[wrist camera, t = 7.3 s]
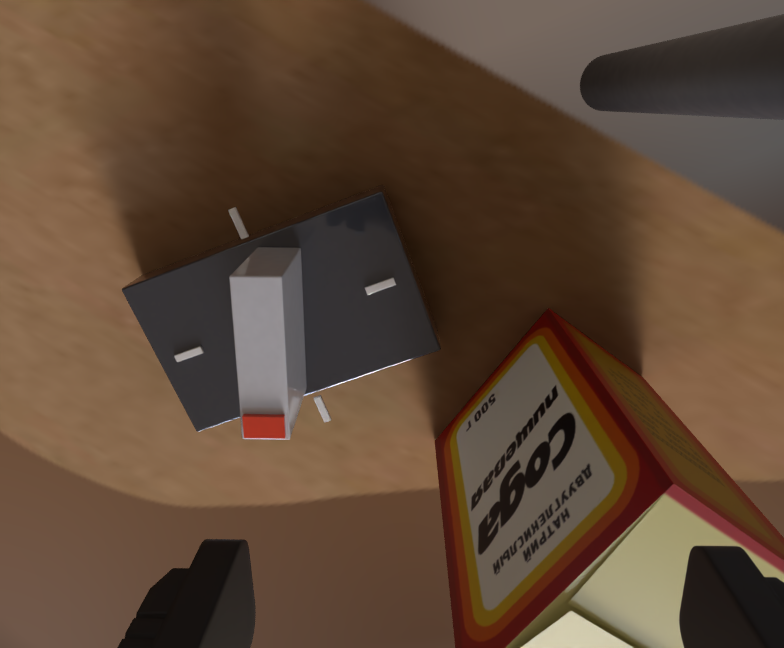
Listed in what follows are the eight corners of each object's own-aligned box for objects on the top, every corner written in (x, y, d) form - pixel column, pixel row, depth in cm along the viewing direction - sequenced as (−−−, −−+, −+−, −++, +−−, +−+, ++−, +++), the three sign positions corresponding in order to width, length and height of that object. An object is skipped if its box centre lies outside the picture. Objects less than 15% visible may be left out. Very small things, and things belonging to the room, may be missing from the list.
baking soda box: (548, 307, 32) (679, 491, 17) (643, 377, 33) (844, 607, 18) (434, 441, 35) (460, 702, 20) (526, 501, 36) (618, 791, 21)
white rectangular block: (256, 246, 29) (226, 277, 24) (301, 247, 29) (280, 278, 24) (266, 388, 31) (240, 442, 26) (306, 388, 31) (289, 443, 26)
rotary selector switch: (371, 151, 30) (368, 155, 27) (448, 359, 33) (452, 380, 31) (125, 245, 31) (101, 258, 29) (223, 434, 35) (209, 460, 32)
